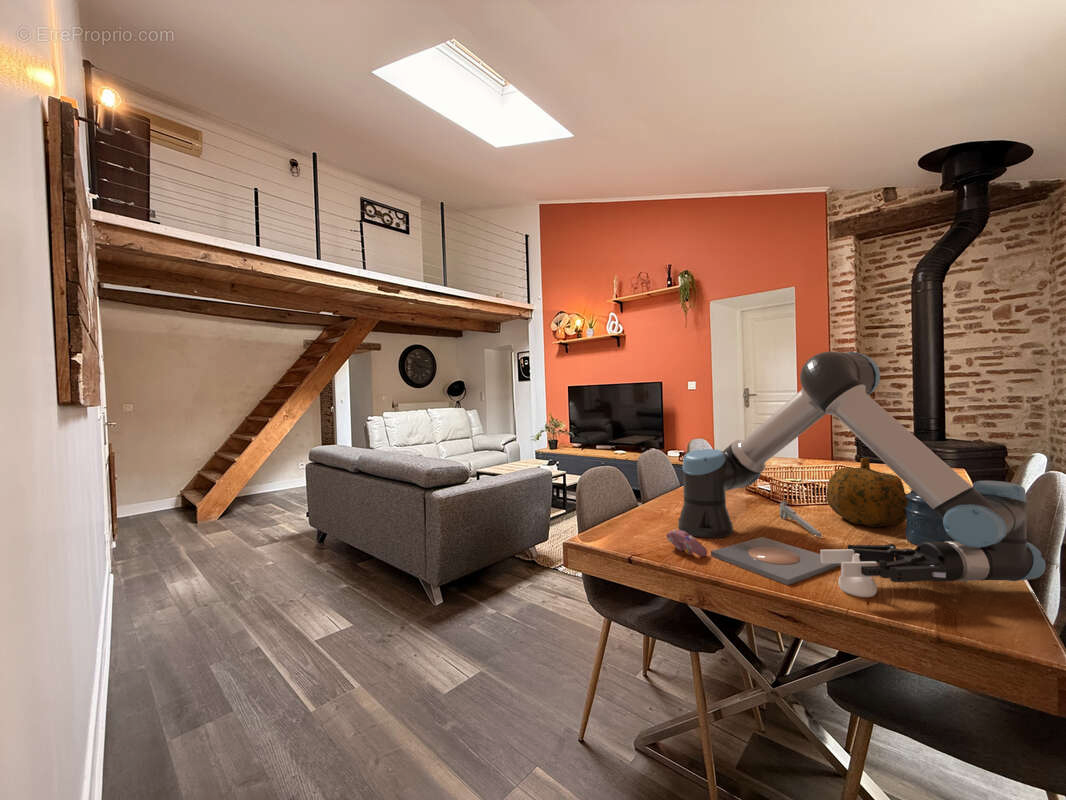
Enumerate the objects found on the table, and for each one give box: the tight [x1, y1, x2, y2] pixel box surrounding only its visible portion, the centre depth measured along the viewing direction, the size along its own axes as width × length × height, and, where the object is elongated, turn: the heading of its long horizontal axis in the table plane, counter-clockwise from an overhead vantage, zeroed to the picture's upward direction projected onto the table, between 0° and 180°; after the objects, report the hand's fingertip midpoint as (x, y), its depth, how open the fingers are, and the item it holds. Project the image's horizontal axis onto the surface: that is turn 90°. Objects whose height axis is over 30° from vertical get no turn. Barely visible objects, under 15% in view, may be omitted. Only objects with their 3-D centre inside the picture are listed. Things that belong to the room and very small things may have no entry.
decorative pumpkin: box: [826, 457, 908, 528], centre depth 135 cm, size 20×21×20 cm
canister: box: [905, 486, 955, 547], centre depth 115 cm, size 13×13×18 cm
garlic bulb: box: [838, 553, 878, 598], centre depth 91 cm, size 6×6×8 cm
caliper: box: [779, 499, 824, 538], centre depth 132 cm, size 20×1×6 cm, turn 0°
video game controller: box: [666, 529, 708, 557], centre depth 115 cm, size 10×5×7 cm, turn 24°
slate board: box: [710, 536, 841, 586], centre depth 108 cm, size 20×20×1 cm
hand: (831, 562), depth 91 cm, fingers open, 6 cm apart
